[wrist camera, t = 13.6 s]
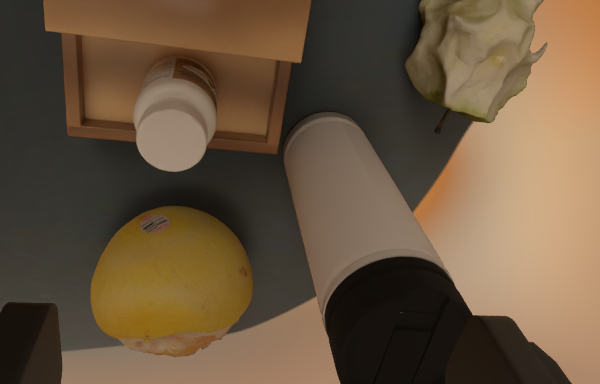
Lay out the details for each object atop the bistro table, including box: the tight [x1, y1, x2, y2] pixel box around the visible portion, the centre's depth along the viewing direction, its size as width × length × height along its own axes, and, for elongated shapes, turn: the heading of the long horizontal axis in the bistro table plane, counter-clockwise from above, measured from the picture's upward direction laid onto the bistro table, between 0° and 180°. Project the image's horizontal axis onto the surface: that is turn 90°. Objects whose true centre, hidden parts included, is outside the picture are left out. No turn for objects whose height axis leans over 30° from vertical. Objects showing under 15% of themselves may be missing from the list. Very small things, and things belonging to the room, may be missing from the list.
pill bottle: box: [133, 56, 217, 172], centre depth 28 cm, size 4×4×8 cm
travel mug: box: [283, 112, 473, 384], centre depth 29 cm, size 6×7×20 cm
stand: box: [43, 0, 312, 154], centre depth 29 cm, size 12×13×6 cm
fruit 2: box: [405, 0, 547, 134], centre depth 32 cm, size 9×9×8 cm
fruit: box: [90, 206, 253, 357], centre depth 35 cm, size 10×11×10 cm
